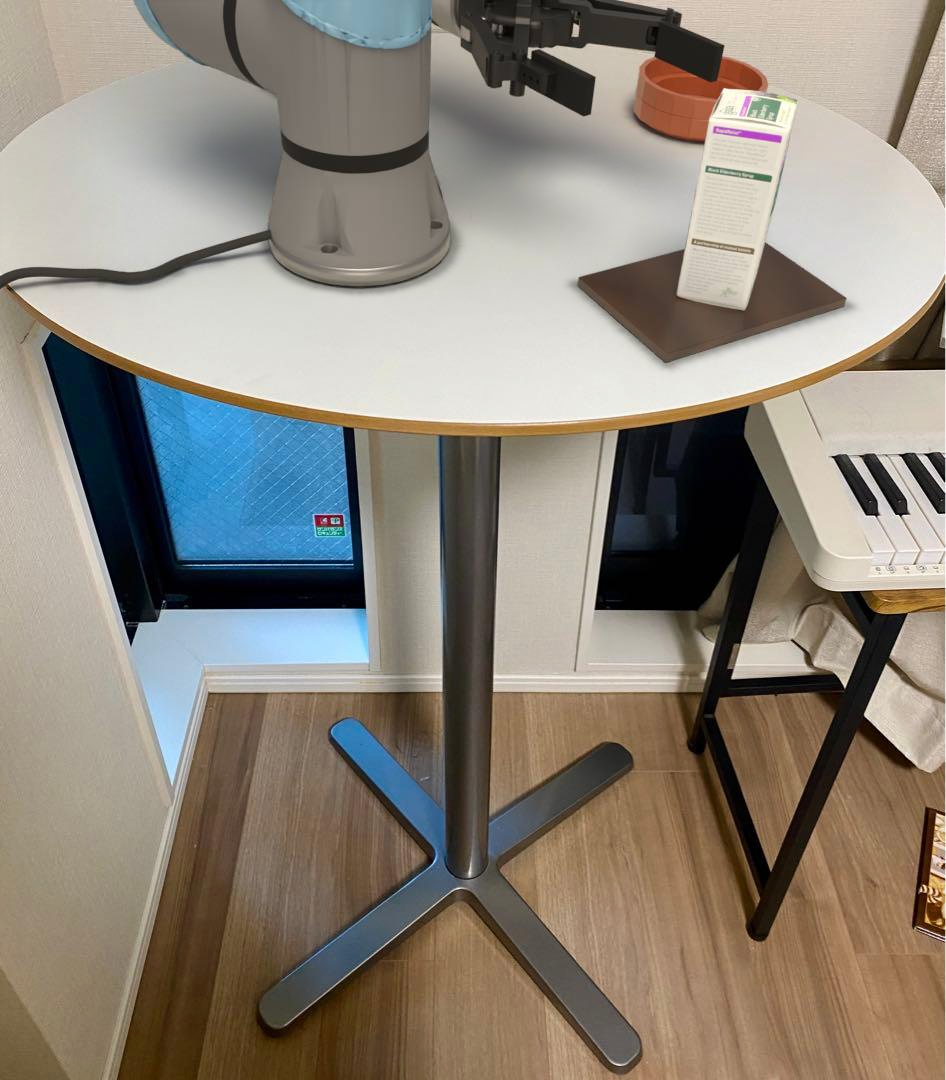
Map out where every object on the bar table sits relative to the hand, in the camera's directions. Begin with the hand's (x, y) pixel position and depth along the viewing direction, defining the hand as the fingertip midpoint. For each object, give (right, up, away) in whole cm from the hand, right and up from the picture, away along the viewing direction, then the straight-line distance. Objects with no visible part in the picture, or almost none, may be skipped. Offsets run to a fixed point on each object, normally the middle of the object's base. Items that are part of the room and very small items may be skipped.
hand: (656, 80), depth 76 cm
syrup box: (+5, -15, +4) cm, 16 cm away
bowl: (+10, +10, +30) cm, 33 cm away
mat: (+5, -15, +5) cm, 17 cm away
